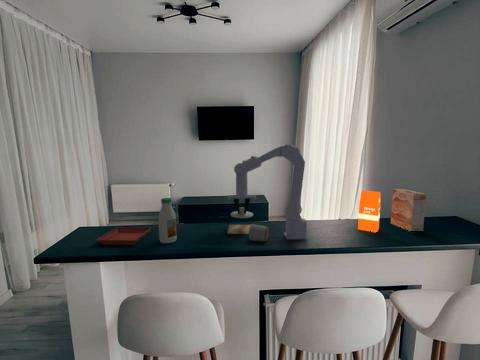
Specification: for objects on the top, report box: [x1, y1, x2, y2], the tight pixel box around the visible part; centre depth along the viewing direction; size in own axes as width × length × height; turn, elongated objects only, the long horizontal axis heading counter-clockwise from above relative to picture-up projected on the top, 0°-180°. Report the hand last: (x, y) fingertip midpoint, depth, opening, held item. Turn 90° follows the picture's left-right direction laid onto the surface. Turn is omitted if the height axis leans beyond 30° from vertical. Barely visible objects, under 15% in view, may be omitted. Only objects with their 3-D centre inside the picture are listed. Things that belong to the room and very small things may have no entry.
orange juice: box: [357, 190, 381, 233], centre depth 131 cm, size 8×9×20 cm
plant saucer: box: [96, 226, 152, 246], centre depth 120 cm, size 18×18×3 cm
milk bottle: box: [158, 197, 178, 244], centre depth 116 cm, size 8×8×20 cm
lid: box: [230, 206, 254, 219], centre depth 129 cm, size 12×12×4 cm
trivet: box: [227, 224, 251, 235], centre depth 130 cm, size 14×14×1 cm
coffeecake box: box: [390, 188, 427, 232], centre depth 133 cm, size 15×7×20 cm, turn 6°
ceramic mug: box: [248, 223, 270, 242], centre depth 118 cm, size 11×8×8 cm
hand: (242, 213), depth 129 cm, fingers closed on lid, 3 cm apart
